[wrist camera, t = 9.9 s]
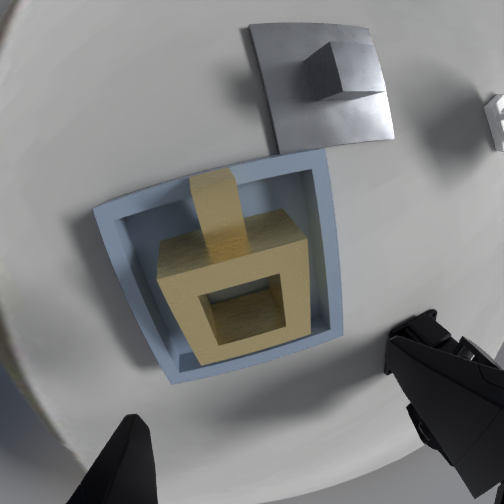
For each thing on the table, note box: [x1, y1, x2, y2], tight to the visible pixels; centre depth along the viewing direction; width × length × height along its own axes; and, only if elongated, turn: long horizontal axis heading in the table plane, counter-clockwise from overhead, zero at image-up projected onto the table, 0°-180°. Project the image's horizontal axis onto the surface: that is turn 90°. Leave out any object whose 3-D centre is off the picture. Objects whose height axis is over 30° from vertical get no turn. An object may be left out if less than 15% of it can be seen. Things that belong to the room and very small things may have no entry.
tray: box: [93, 149, 343, 385], centre depth 17 cm, size 13×13×2 cm
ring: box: [157, 167, 311, 365], centre depth 15 cm, size 10×7×4 cm
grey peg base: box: [248, 23, 395, 154], centre depth 13 cm, size 9×9×4 cm
